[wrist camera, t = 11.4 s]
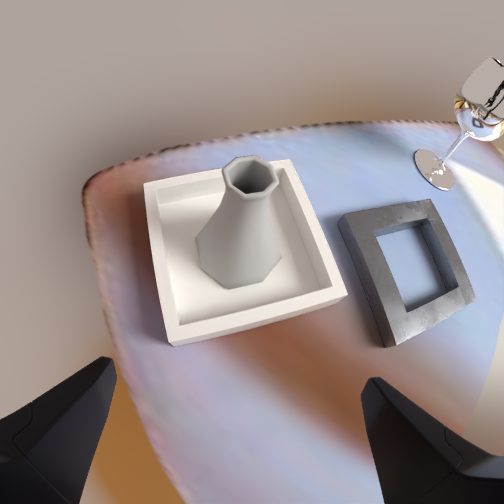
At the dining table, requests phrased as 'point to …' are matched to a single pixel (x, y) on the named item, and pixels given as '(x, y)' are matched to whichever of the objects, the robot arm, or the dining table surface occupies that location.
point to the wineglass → (470, 119)
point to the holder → (380, 277)
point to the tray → (247, 297)
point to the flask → (241, 226)
